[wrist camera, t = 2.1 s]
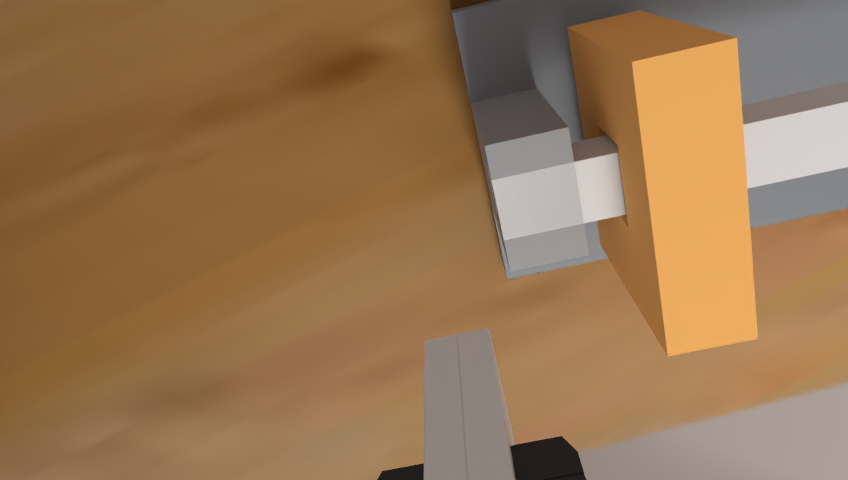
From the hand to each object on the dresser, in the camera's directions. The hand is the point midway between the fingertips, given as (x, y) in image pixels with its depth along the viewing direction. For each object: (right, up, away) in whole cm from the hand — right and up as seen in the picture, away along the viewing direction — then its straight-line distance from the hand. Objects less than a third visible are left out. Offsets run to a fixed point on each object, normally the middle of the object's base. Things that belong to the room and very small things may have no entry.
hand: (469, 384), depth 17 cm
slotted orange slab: (+7, +8, +15) cm, 19 cm away
